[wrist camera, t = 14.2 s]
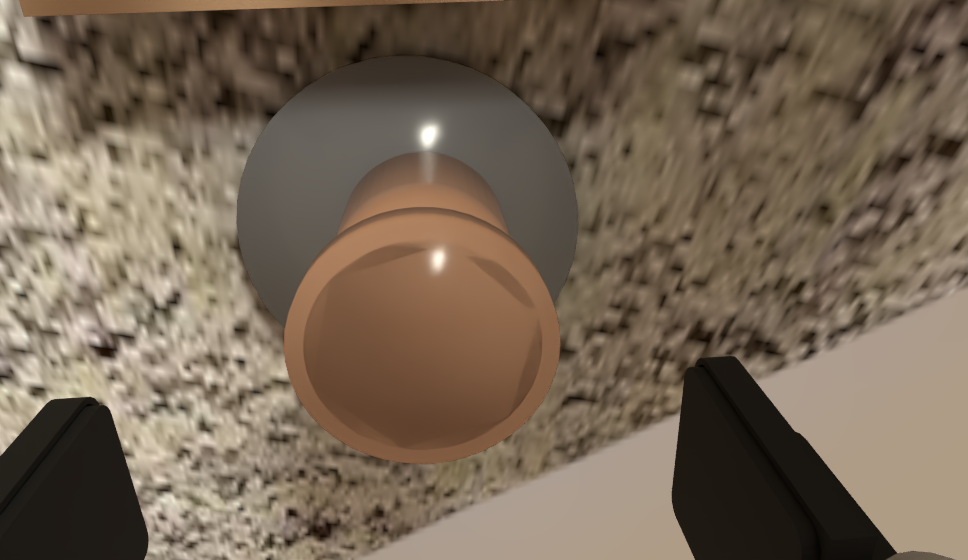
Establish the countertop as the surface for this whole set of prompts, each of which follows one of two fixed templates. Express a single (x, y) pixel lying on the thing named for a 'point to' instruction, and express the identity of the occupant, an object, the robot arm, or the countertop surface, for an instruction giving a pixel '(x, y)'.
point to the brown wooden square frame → (186, 5)
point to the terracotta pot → (422, 318)
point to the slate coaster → (389, 133)
